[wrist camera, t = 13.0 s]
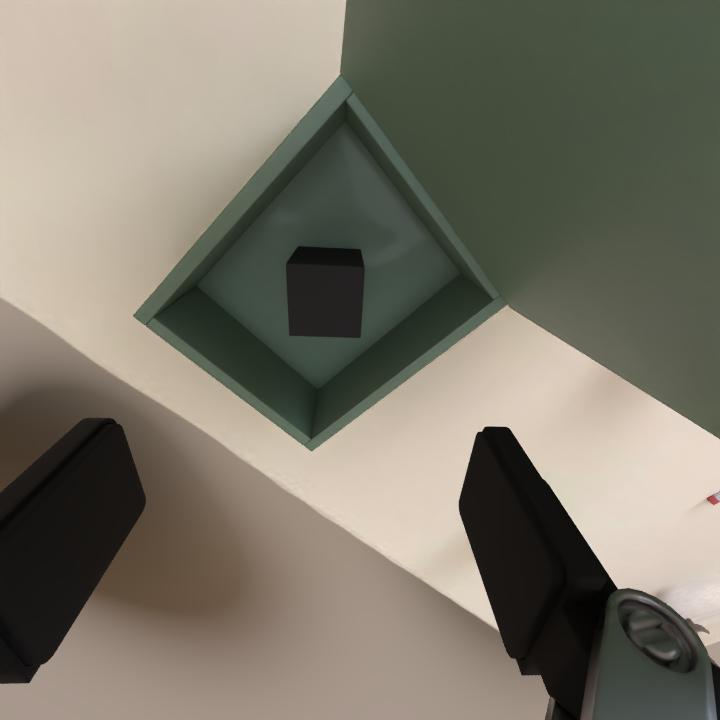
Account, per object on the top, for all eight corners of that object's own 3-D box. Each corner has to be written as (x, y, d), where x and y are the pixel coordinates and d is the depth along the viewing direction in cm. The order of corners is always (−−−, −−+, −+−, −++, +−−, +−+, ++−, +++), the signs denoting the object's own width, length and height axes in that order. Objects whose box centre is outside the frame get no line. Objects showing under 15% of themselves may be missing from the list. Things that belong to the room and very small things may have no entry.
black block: (299, 306, 26) (289, 336, 22) (297, 246, 24) (285, 263, 19) (358, 309, 27) (360, 338, 22) (361, 249, 25) (365, 266, 20)
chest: (318, 395, 31) (311, 452, 25) (185, 281, 26) (132, 316, 20) (471, 270, 26) (512, 301, 20) (345, 100, 21) (346, 67, 15)
